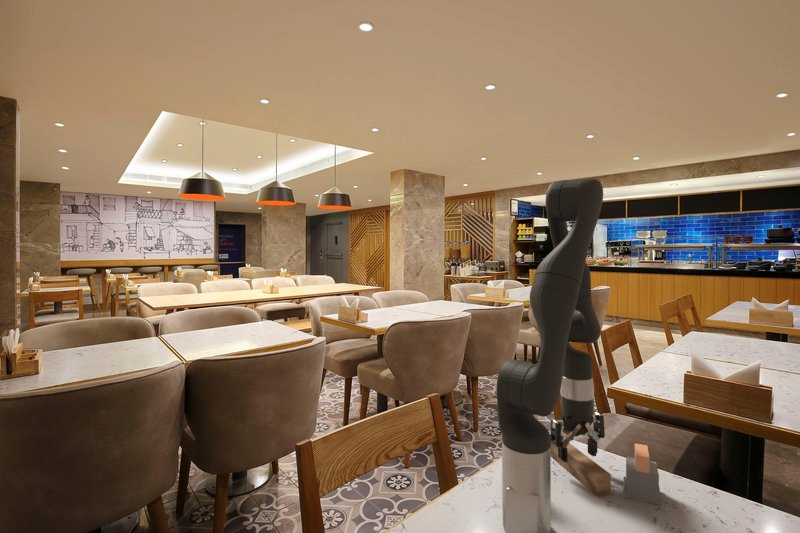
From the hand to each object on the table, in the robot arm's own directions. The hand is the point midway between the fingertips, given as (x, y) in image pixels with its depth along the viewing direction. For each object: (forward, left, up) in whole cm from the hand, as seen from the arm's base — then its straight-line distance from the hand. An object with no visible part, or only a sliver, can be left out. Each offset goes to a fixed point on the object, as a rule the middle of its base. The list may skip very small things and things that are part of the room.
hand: (577, 457), depth 99 cm
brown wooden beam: (0, +1, -4) cm, 4 cm away
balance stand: (-3, -13, -4) cm, 14 cm away
